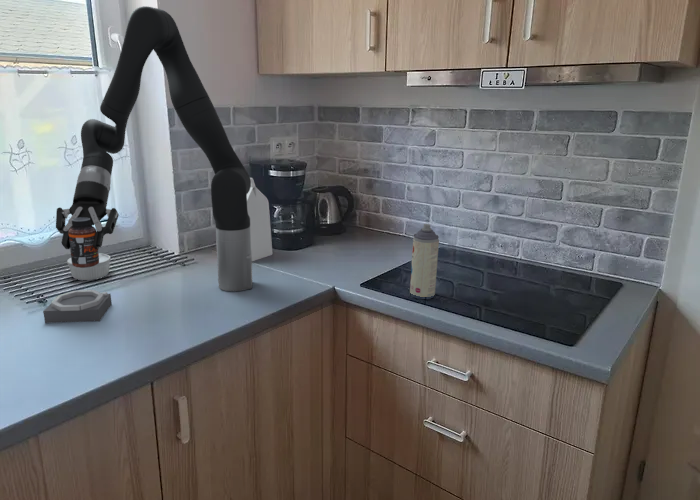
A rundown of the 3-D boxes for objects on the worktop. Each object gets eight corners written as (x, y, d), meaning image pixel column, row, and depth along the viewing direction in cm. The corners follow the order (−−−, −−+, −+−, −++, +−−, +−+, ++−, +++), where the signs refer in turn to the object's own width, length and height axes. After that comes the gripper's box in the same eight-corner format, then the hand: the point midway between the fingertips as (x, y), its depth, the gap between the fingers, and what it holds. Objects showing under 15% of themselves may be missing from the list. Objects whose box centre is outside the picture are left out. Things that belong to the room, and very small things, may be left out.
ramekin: (118, 276, 154) (116, 258, 153) (78, 285, 146) (76, 267, 145) (102, 267, 161) (100, 250, 160) (63, 275, 154) (61, 258, 152)
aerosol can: (415, 289, 150) (420, 220, 144) (438, 294, 146) (443, 224, 140) (405, 296, 144) (409, 225, 138) (428, 301, 141) (434, 229, 135)
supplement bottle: (88, 269, 124) (82, 223, 121) (66, 267, 125) (60, 220, 122) (105, 262, 130) (100, 217, 126) (83, 259, 131) (78, 215, 127)
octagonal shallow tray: (112, 304, 134) (110, 289, 133) (99, 321, 124) (97, 305, 123) (61, 305, 132) (59, 290, 131) (44, 323, 122) (42, 307, 121)
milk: (221, 255, 175) (218, 177, 167) (247, 247, 184) (244, 173, 176) (247, 262, 168) (245, 181, 161) (272, 254, 177) (271, 177, 170)
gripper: (56, 179, 128) (42, 240, 120) (118, 180, 130) (108, 240, 122) (67, 196, 134) (54, 255, 127) (126, 197, 136) (117, 255, 128)
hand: (81, 247), depth 124 cm, fingers closed on supplement bottle, 6 cm apart
